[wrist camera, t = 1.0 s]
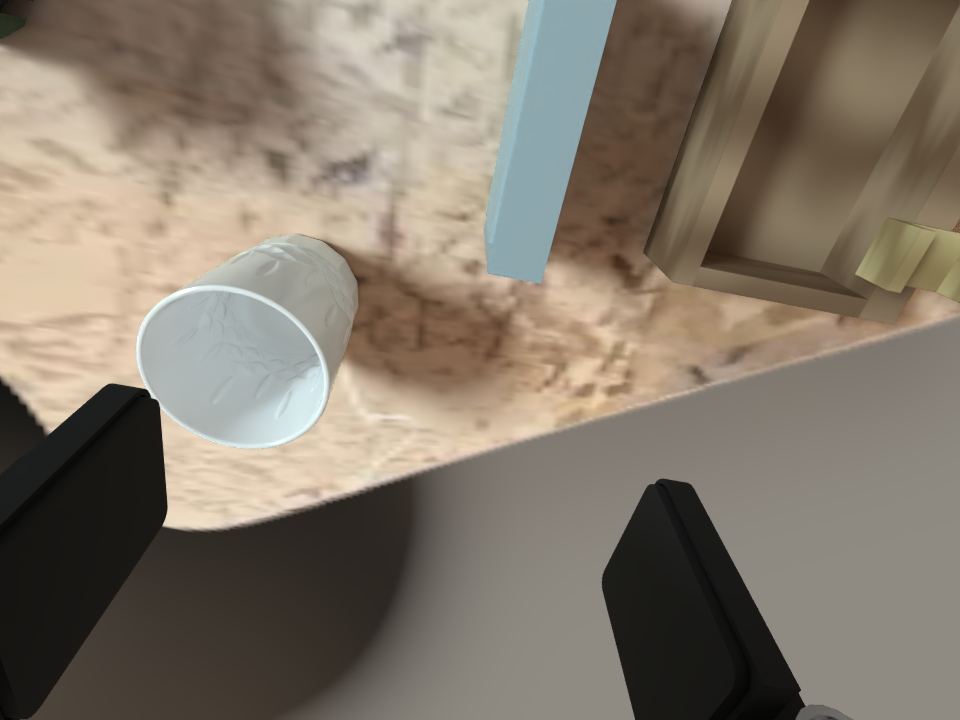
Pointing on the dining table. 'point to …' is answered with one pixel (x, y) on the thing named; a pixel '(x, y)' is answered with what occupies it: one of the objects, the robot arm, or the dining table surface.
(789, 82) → the carcass
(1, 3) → the character mug
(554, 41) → the door
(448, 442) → the dining table surface
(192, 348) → the white cup
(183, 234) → the dining table surface
